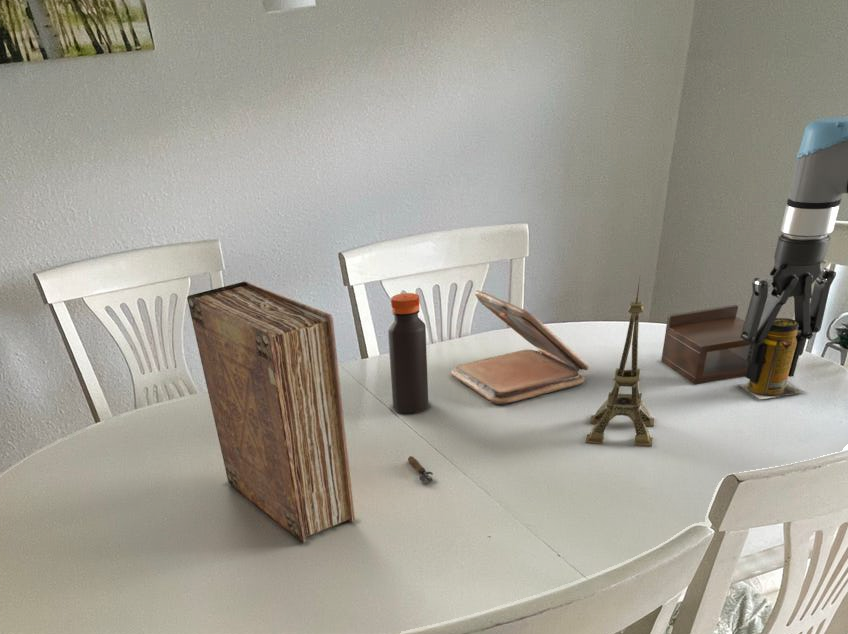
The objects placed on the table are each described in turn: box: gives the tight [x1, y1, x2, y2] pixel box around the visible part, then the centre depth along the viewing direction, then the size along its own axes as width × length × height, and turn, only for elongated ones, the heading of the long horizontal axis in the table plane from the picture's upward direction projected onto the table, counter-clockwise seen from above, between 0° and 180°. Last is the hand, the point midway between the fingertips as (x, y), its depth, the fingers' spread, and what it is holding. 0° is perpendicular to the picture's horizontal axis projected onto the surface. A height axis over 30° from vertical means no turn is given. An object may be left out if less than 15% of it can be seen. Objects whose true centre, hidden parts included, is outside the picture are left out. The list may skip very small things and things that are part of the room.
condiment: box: [738, 317, 805, 400], centre depth 137 cm, size 7×8×12 cm
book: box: [186, 281, 356, 545], centre depth 114 cm, size 25×9×30 cm, turn 34°
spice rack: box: [660, 304, 750, 385], centre depth 148 cm, size 13×14×9 cm
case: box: [451, 290, 590, 405], centre depth 149 cm, size 20×21×16 cm
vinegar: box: [387, 292, 429, 415], centre depth 142 cm, size 7×7×20 cm
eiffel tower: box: [585, 276, 655, 447], centre depth 125 cm, size 11×11×25 cm
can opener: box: [407, 455, 433, 484], centre depth 126 cm, size 9×2×1 cm, turn 14°
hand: (769, 376), depth 139 cm, fingers closed on condiment, 6 cm apart
